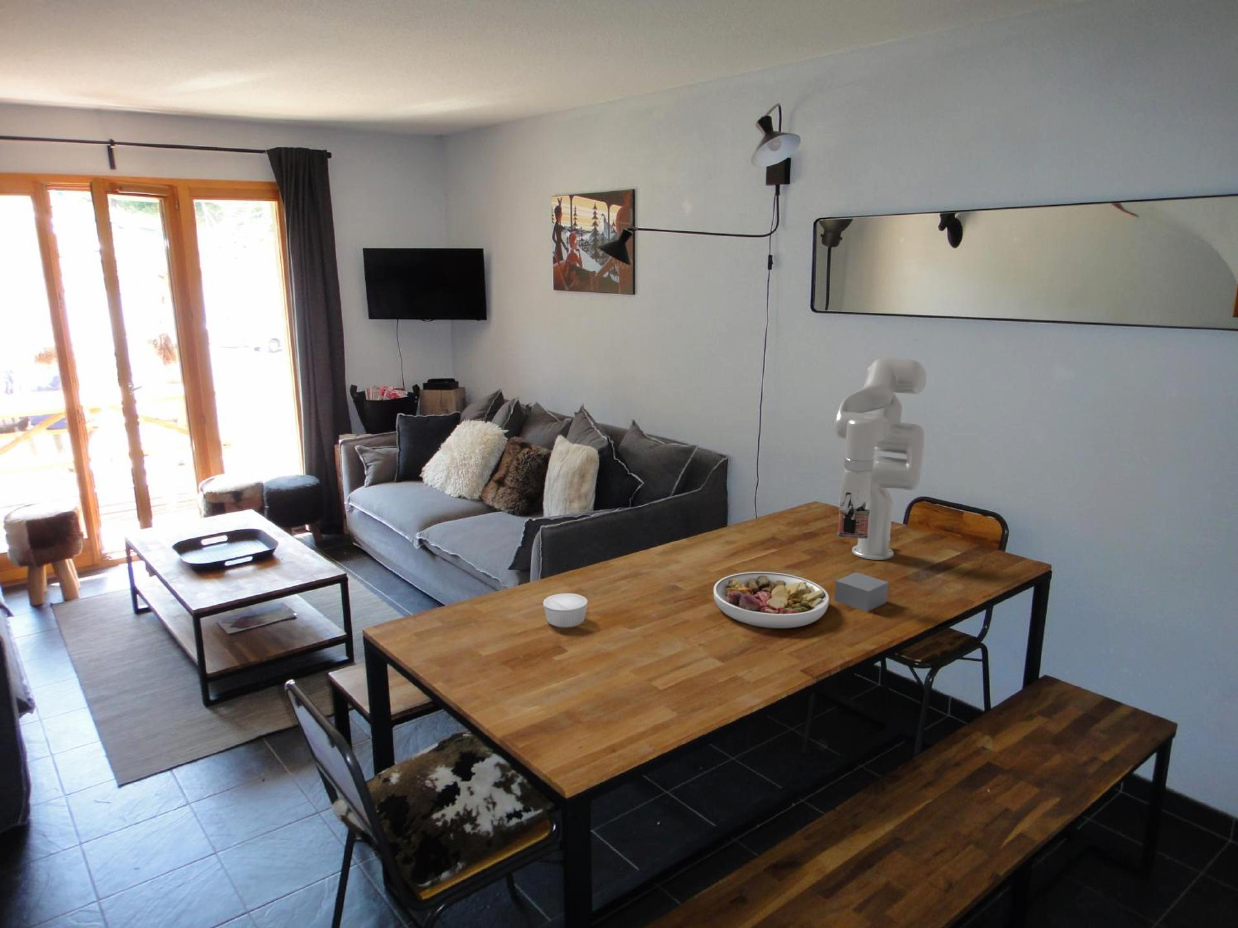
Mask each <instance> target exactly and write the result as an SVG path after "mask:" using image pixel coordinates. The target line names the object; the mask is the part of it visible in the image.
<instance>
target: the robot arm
mask: <svg viewBox="0 0 1238 928" xmlns="http://www.w3.org/2000/svg"><path fill="white" fill-rule="evenodd" d="M926 383H927V373H926V369H925V368H924V366H923V365H922V364H921V363H920V362H919V361H917V360H915V359H909V358H908V359H907V358H891V357H890V358H889V357H882V358H878V359H875V360H874V361H873V362H872V363H871V364H870V365H869V366H868V367H867V369H866V372H865V380H864V384H863V387H862V388H861V389H858V390H856V391H855V392H852V393H851V394H849V395H848V396H847V397H845V398H844V399H843V400H842V402H840V404H839V408H838V410H837V412H836V415H835V418H834V422H833V432H834V434H835V436H836V437H837V438H839V439H842V440H845V448H844V460H843V470H844V471H843V475H842V478H841V479H842V480H841V484H840V491H839V499H838V505H839V506H840V508H842V511H843V513H844V525H843V531H844V532H846V533H851V534H854V533H855V529H856V519H855V515H856V510H857V508H859V507H860V508H861V509H862V507H861V506H863V504H864V503H865V502H866V507H865V509H867V510H870V514H869V520H868V532H867V534H868V538H866V539H860V538H857V544H856V545H854V546H853V547H852V549H851V552H852V554H854V555H855V556H857V557H860V558H862V559H866V560H873V561H881V560H882V561H885V560H889V559H891V558H893V557H894V551H893V549H891V548H890V541H891V530H892V529H891V527H892V516H893V507H894V506H893V505H894V502H893V497H892V496H891V494H890V492H889V490H888V489H893V490H901V491H903V490H904V491H914V490H916V489H917V488H918V486H919V484H920V479H921V474H922V464H923V456H924V446H925V433H924V428H923V427H922V426H921V425H919V424H916V423H907V422H902V421H901V419H902V411H903V406H902V404H901V401H900V399H899V397H897V395H896V393H898V394H908V395H909V394H910V395H919V394H921V393H922V392H923V390H924V389H925V387H926ZM869 412H872V413H869ZM875 451H877V452H883V453H891V454H899V455H904V456H905V457H906V458H901V457H900V458H899V457H891V456H886V455H885V456H883V455H875ZM850 505H853V507H852V506H850ZM849 506H850V507H849ZM849 509H850V510H853V512H851V511H849Z"/></svg>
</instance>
